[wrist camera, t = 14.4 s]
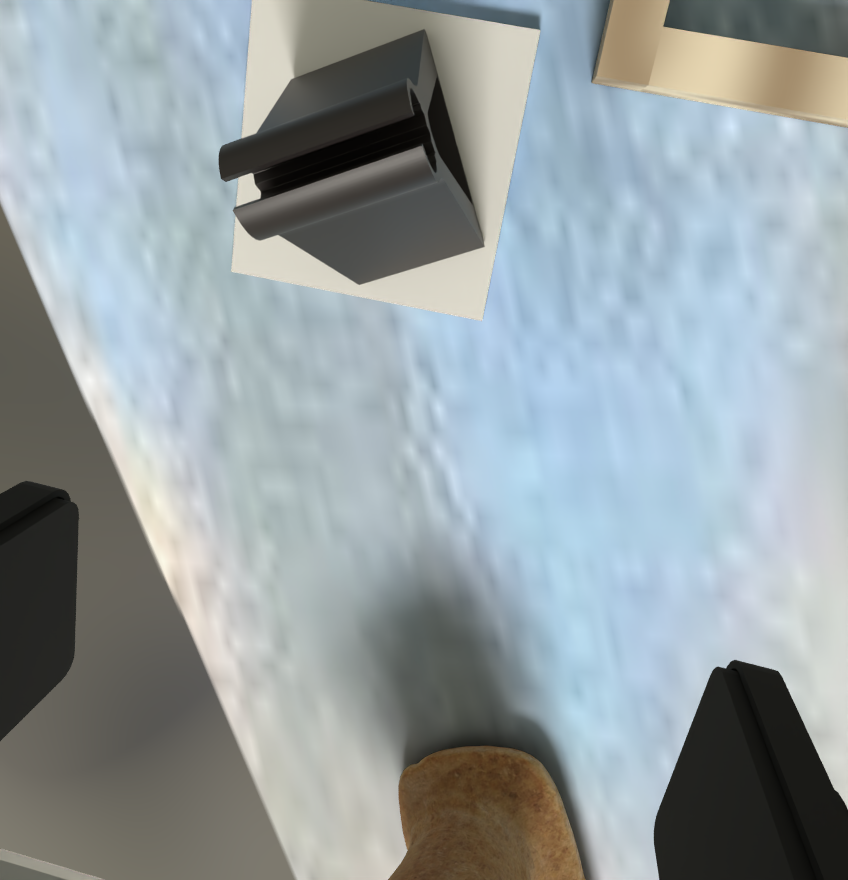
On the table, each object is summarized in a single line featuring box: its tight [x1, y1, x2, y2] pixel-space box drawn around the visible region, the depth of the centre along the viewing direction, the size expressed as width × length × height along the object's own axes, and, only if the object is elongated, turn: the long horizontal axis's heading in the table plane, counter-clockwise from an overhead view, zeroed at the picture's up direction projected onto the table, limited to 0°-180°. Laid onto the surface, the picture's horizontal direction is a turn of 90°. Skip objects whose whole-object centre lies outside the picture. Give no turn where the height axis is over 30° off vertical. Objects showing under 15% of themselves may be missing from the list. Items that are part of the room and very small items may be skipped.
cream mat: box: [231, 0, 540, 321], centre depth 33 cm, size 12×12×1 cm
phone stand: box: [219, 29, 485, 285], centre depth 27 cm, size 9×6×12 cm, turn 17°
